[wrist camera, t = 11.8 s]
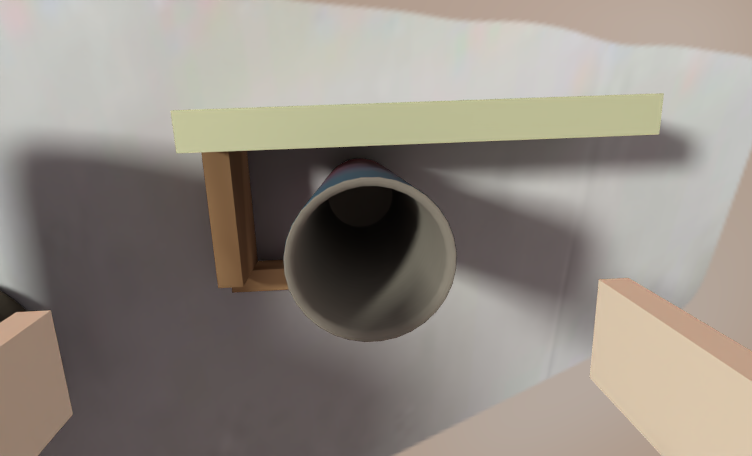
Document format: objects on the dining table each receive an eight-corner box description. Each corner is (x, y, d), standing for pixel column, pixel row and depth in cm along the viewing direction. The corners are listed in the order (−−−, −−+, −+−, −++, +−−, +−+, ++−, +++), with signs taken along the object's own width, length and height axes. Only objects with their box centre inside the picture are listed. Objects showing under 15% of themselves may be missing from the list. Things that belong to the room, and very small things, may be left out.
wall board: (222, 140, 32) (176, 153, 23) (219, 109, 31) (170, 110, 23) (576, 126, 33) (659, 134, 24) (578, 96, 33) (663, 93, 24)
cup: (420, 224, 34) (475, 313, 20) (329, 254, 34) (317, 363, 20) (392, 131, 32) (430, 152, 18) (296, 162, 32) (257, 209, 18)
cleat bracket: (238, 281, 34) (220, 310, 29) (222, 140, 32) (200, 146, 27) (419, 272, 35) (431, 299, 30) (417, 132, 32) (430, 137, 28)
